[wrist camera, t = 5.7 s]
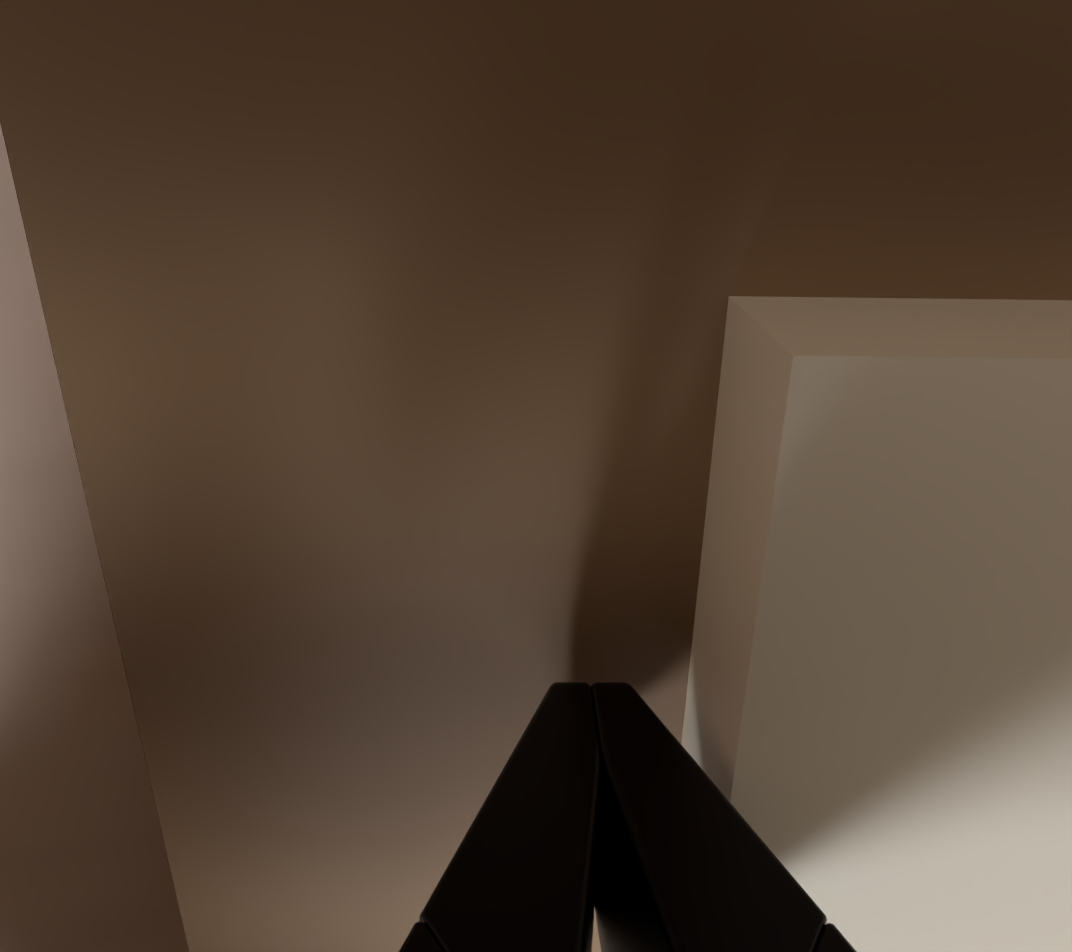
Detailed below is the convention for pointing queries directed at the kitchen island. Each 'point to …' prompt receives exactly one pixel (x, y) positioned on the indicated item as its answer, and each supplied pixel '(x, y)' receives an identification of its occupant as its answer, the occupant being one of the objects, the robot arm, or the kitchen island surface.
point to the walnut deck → (458, 361)
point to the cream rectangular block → (895, 612)
